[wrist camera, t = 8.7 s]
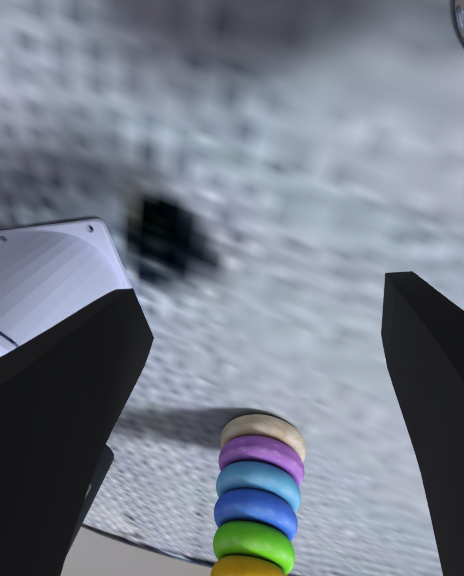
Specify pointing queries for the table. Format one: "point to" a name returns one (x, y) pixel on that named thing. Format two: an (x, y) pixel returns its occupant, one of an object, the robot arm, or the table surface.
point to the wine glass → (459, 16)
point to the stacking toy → (257, 496)
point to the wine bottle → (94, 487)
